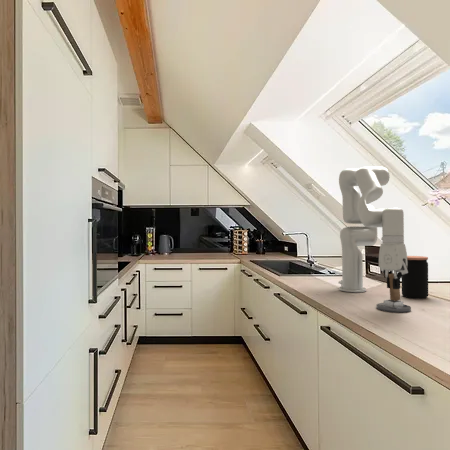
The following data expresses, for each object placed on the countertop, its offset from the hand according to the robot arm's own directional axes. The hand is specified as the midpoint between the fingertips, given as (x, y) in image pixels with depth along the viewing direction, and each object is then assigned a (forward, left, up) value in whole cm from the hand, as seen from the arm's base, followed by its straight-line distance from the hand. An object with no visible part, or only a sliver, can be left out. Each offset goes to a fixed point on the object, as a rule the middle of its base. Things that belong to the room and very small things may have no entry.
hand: (393, 287), depth 140 cm
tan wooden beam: (0, +1, -5) cm, 5 cm away
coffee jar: (-14, +28, -8) cm, 33 cm away
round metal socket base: (0, 0, -8) cm, 8 cm away
